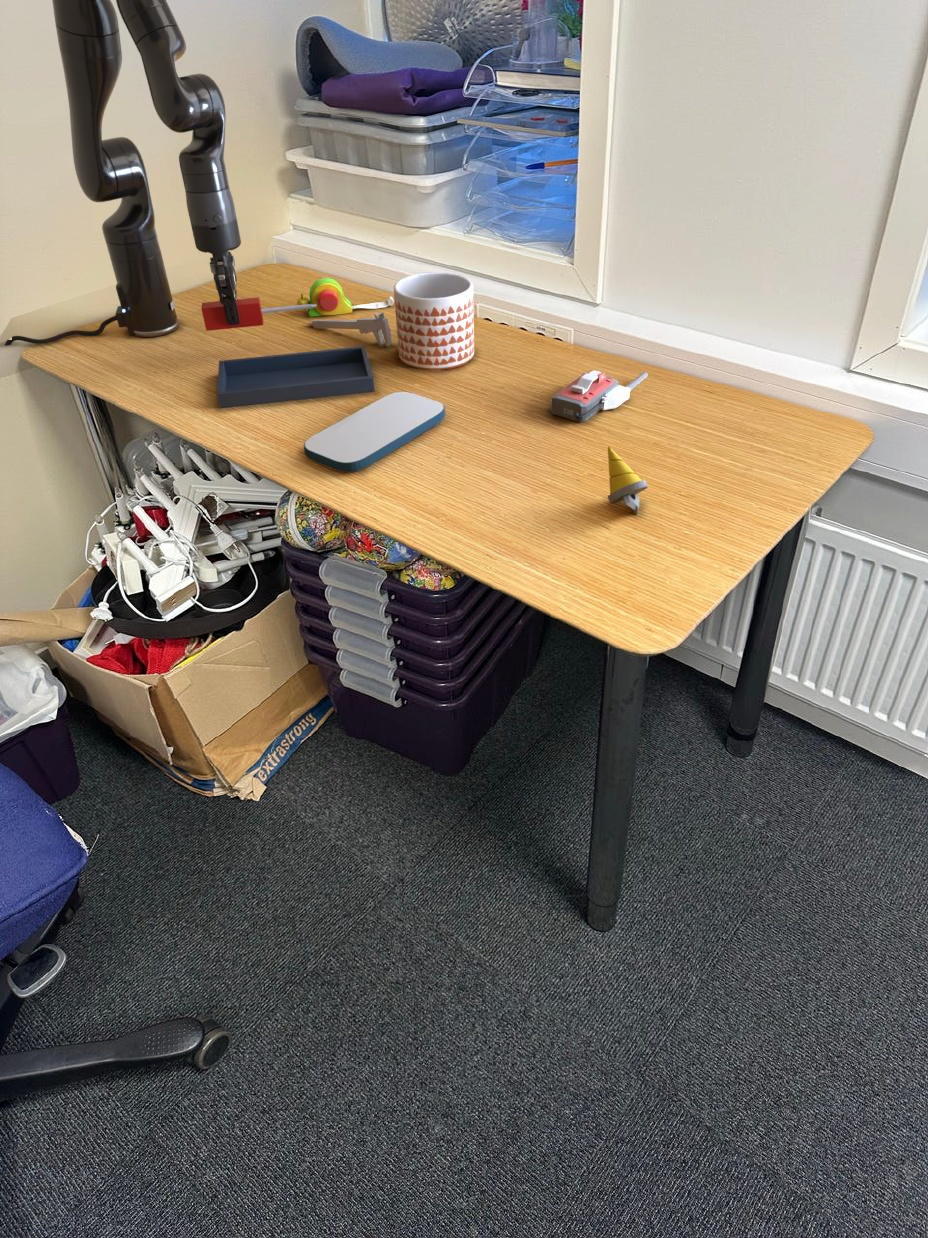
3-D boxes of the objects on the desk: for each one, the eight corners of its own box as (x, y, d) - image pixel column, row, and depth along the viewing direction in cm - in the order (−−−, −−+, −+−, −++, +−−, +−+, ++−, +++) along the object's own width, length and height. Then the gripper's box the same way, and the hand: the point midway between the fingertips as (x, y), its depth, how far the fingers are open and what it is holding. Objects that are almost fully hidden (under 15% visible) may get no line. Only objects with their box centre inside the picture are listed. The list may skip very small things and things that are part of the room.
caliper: (392, 346, 161) (389, 313, 157) (388, 349, 161) (385, 315, 157) (312, 324, 171) (307, 292, 167) (308, 326, 170) (303, 294, 166)
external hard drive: (351, 479, 125) (350, 467, 123) (296, 456, 130) (294, 444, 129) (453, 417, 139) (453, 405, 137) (399, 398, 144) (398, 387, 143)
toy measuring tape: (297, 310, 177) (292, 277, 173) (391, 299, 180) (388, 266, 176) (300, 321, 172) (295, 288, 168) (396, 310, 175) (394, 277, 171)
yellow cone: (612, 524, 115) (583, 455, 116) (627, 521, 120) (599, 454, 120) (647, 507, 112) (617, 436, 113) (661, 504, 117) (632, 437, 117)
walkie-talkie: (592, 430, 134) (651, 383, 146) (594, 404, 131) (653, 358, 144) (543, 416, 138) (604, 371, 150) (544, 390, 135) (606, 346, 148)
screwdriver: (206, 330, 153) (201, 308, 151) (206, 324, 156) (201, 302, 153) (318, 319, 156) (315, 297, 153) (317, 313, 158) (314, 291, 156)
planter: (458, 375, 151) (456, 302, 143) (386, 366, 155) (380, 294, 146) (484, 345, 160) (483, 275, 152) (416, 337, 164) (412, 268, 156)
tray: (220, 410, 143) (216, 394, 141) (222, 376, 153) (219, 360, 151) (375, 393, 146) (373, 377, 144) (366, 361, 157) (365, 345, 155)
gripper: (192, 208, 148) (214, 308, 159) (187, 231, 138) (211, 337, 149) (236, 204, 149) (255, 304, 160) (235, 227, 139) (255, 333, 150)
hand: (234, 319), depth 154 cm, fingers closed on screwdriver, 3 cm apart
